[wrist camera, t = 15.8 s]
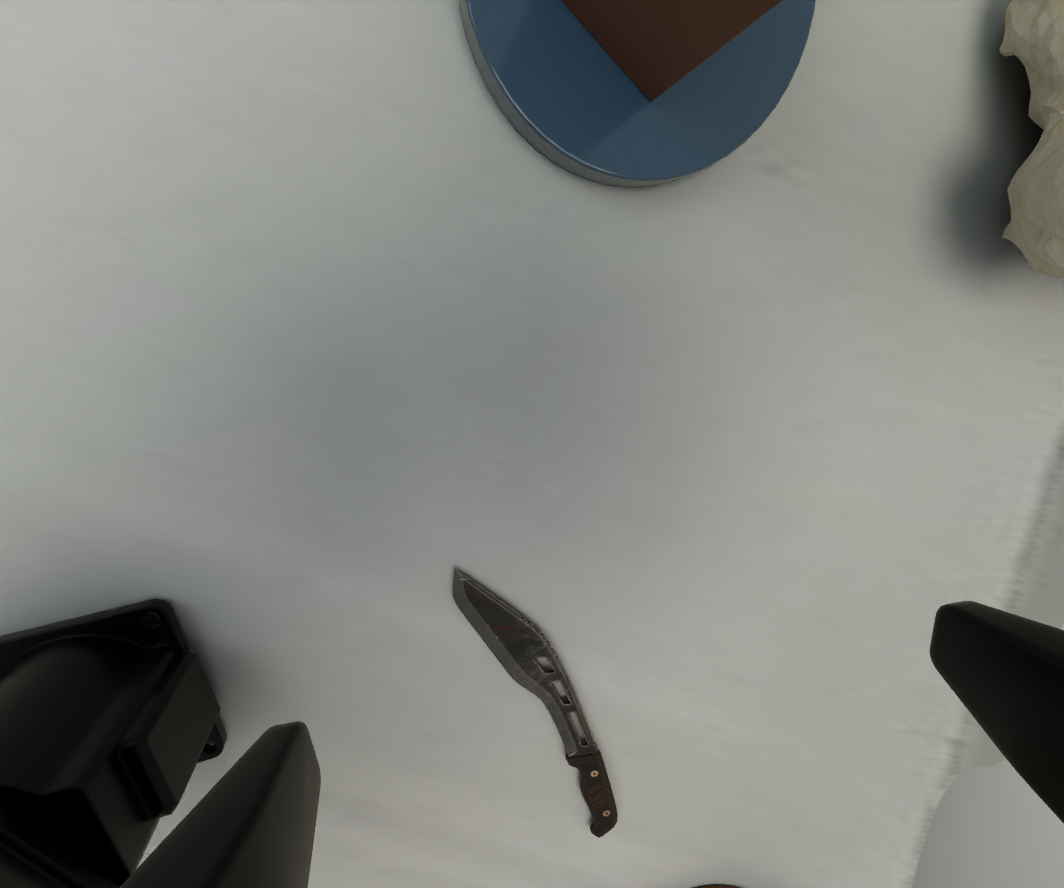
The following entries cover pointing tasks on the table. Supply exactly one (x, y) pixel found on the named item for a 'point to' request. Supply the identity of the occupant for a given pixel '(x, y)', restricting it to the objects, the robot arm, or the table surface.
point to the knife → (540, 687)
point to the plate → (628, 90)
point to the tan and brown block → (665, 34)
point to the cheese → (1060, 110)
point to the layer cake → (719, 886)
